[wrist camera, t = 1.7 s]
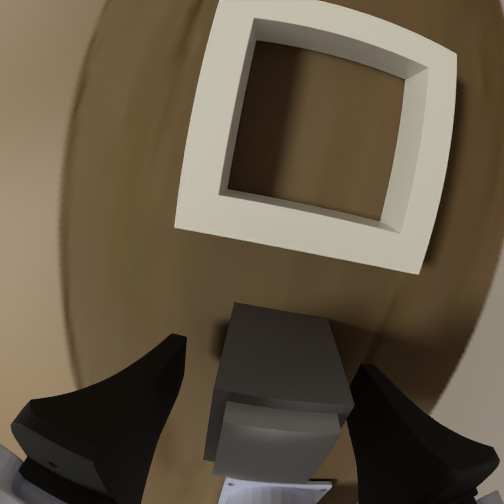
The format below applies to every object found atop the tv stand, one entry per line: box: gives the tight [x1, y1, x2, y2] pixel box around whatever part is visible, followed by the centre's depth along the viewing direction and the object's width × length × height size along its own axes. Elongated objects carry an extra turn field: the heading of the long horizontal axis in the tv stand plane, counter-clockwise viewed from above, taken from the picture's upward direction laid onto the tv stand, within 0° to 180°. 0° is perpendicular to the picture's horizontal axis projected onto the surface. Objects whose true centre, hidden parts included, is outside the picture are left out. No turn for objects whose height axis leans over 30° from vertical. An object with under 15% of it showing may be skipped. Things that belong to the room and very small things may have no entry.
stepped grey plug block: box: [203, 302, 354, 484], centre depth 10 cm, size 4×4×6 cm
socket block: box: [174, 0, 457, 275], centre depth 9 cm, size 8×8×2 cm
